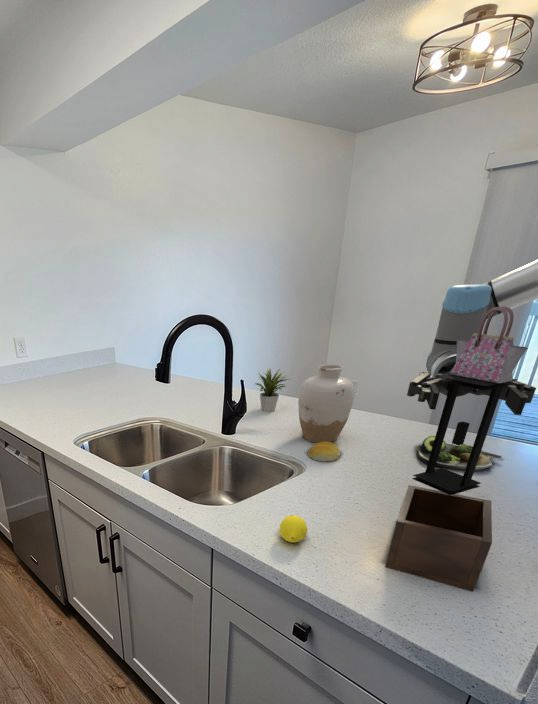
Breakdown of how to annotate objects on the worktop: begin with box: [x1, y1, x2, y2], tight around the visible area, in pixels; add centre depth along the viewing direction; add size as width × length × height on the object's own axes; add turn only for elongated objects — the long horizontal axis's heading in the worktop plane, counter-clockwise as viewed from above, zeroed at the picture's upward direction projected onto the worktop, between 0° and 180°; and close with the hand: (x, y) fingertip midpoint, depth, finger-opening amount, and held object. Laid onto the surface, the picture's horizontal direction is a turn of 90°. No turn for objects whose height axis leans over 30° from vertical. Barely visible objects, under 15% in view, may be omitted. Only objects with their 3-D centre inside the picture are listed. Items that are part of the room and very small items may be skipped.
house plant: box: [254, 368, 293, 413], centre depth 166 cm, size 14×14×16 cm
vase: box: [297, 363, 355, 444], centre depth 136 cm, size 16×16×23 cm
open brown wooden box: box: [384, 484, 493, 592], centre depth 81 cm, size 13×16×10 cm
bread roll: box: [307, 442, 341, 463], centre depth 127 cm, size 8×9×4 cm
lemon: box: [279, 514, 308, 543], centre depth 89 cm, size 7×5×5 cm
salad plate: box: [416, 435, 502, 471], centre depth 120 cm, size 19×18×5 cm
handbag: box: [411, 306, 529, 495], centre depth 73 cm, size 10×8×30 cm
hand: (476, 403), depth 69 cm, fingers closed on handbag, 11 cm apart
